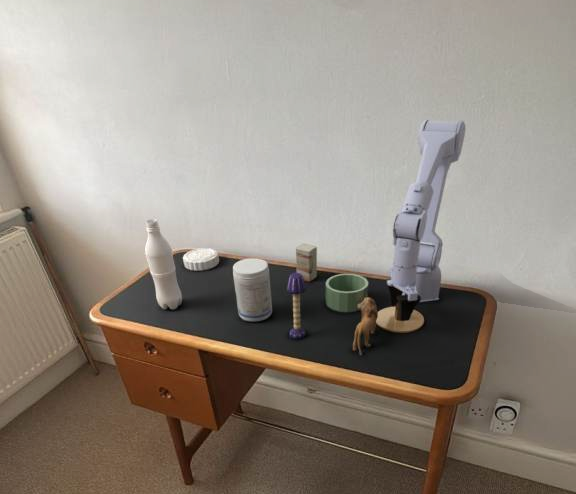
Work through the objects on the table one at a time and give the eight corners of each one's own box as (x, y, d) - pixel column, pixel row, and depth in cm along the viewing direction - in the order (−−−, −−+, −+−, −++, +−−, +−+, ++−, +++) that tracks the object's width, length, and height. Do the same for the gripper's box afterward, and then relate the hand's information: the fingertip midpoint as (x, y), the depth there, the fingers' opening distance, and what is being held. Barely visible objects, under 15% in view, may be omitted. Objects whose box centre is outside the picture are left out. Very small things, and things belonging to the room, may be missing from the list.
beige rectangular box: (296, 278, 146) (294, 248, 140) (303, 273, 149) (302, 243, 142) (310, 282, 143) (309, 251, 137) (317, 276, 146) (317, 246, 140)
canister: (360, 291, 137) (361, 271, 133) (372, 310, 128) (373, 289, 124) (322, 296, 136) (322, 276, 132) (330, 316, 127) (330, 295, 123)
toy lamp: (292, 328, 123) (289, 269, 112) (309, 330, 122) (307, 271, 111) (287, 338, 119) (283, 278, 109) (304, 340, 118) (302, 280, 108)
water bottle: (188, 304, 136) (170, 219, 121) (168, 314, 132) (147, 227, 117) (174, 297, 140) (154, 214, 125) (154, 306, 136) (131, 222, 121)
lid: (413, 307, 128) (415, 290, 125) (431, 331, 118) (433, 313, 115) (369, 313, 127) (370, 296, 124) (383, 337, 117) (384, 320, 114)
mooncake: (179, 270, 155) (177, 260, 153) (191, 256, 164) (189, 246, 162) (213, 271, 153) (212, 261, 151) (223, 256, 163) (222, 246, 160)
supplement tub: (240, 306, 134) (234, 258, 125) (273, 305, 133) (269, 256, 124) (237, 324, 126) (230, 274, 117) (272, 322, 126) (267, 272, 117)
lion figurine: (356, 324, 123) (358, 294, 117) (377, 326, 122) (379, 295, 116) (350, 356, 112) (352, 324, 106) (373, 358, 110) (375, 325, 105)
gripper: (380, 253, 118) (376, 301, 126) (399, 278, 106) (394, 328, 115) (407, 250, 118) (401, 298, 127) (428, 274, 107) (421, 325, 115)
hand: (399, 312), depth 121 cm, fingers open, 7 cm apart
